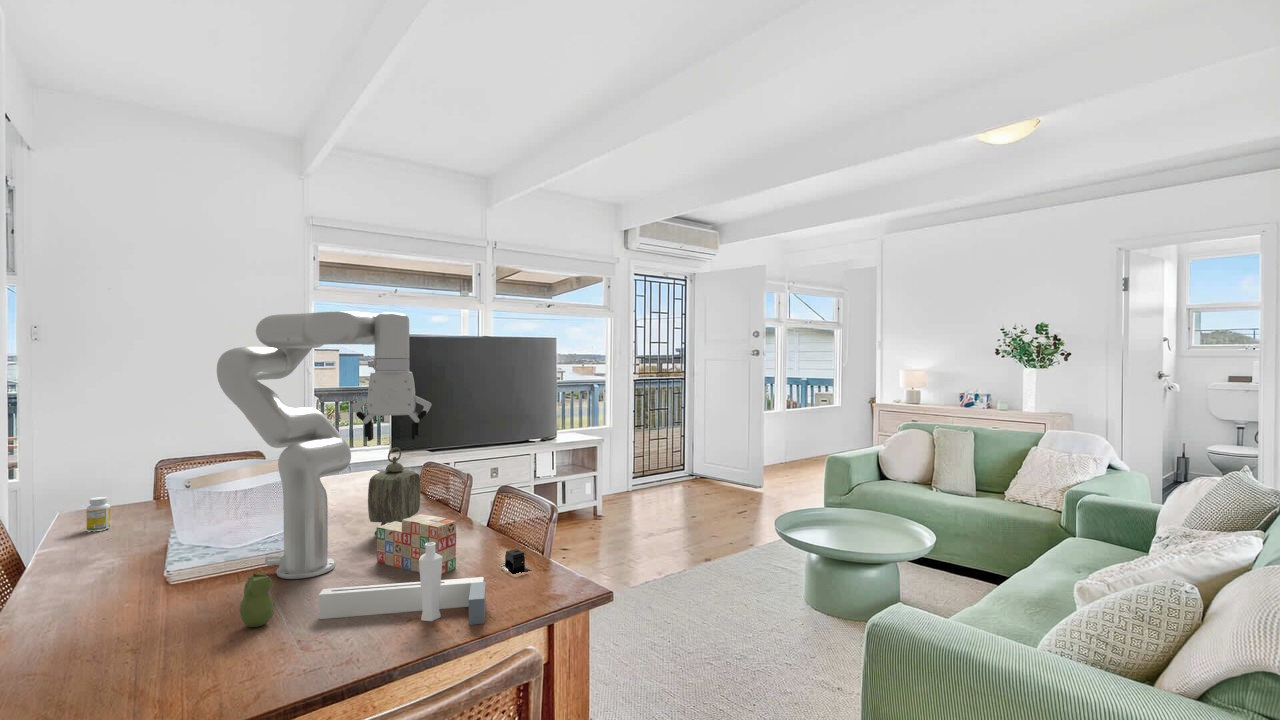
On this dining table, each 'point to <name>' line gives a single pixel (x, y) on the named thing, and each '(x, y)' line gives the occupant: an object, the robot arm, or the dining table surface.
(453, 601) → the guide fence
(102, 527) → the supplement bottle
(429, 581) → the white faceted vase
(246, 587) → the pear
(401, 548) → the stack of blocks
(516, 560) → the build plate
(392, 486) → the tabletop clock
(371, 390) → the robot arm
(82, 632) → the dining table surface
